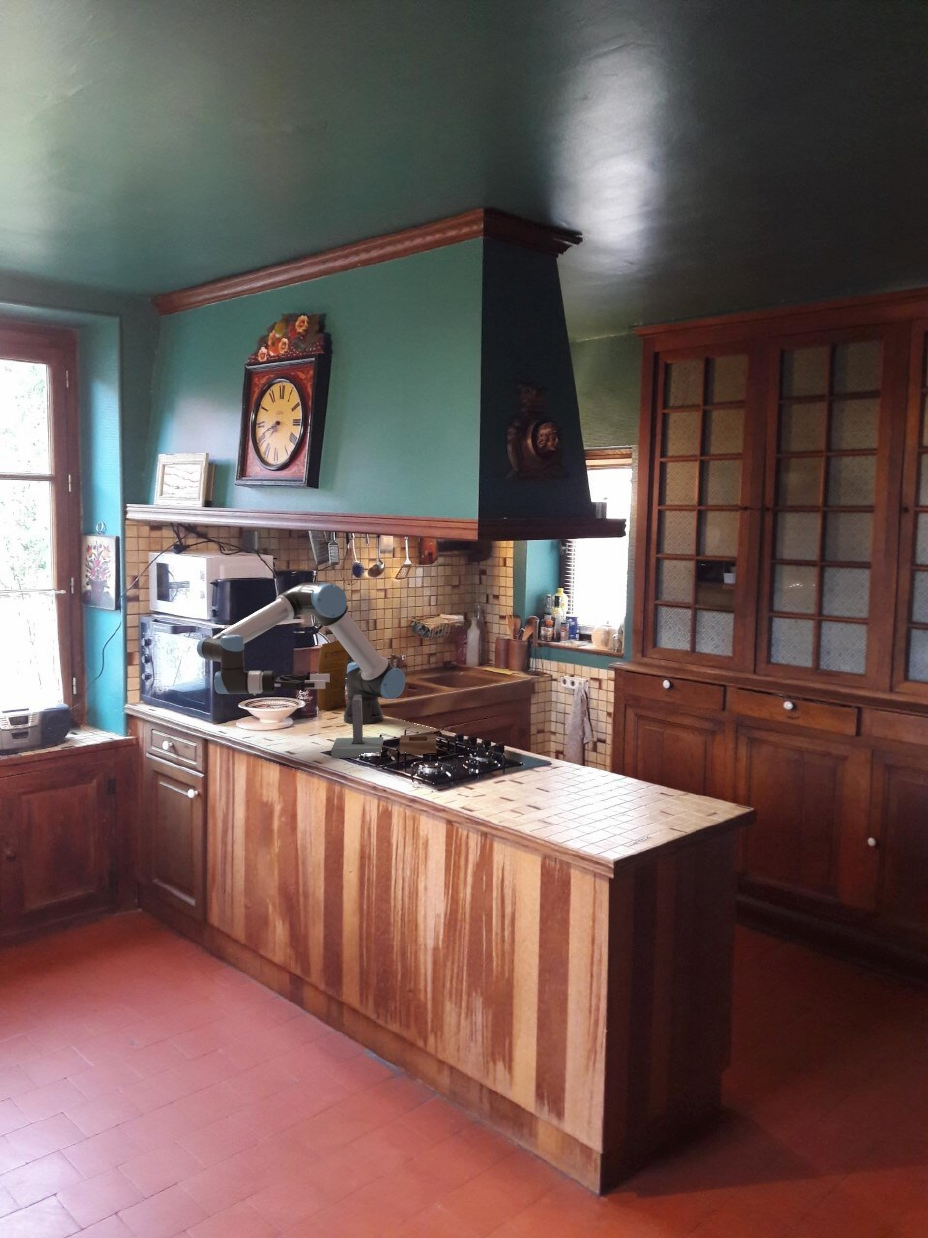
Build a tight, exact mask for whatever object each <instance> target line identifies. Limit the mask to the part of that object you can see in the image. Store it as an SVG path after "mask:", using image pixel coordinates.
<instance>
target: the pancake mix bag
mask: <svg viewBox="0 0 928 1238" xmlns="http://www.w3.org/2000/svg"><path fill="white" fill-rule="evenodd" d="M317 661H318V662H317V663H318V664H317V674H330V682H325V689H317V709H318V708H319V710H327V711H331V710H330V709H332V710H336V709H340V708H346V706H347V700H346V688H347V687H346V685H347V681H346V680H347V666H348V664H349V653H348V652H347V651H346V649H345V648H344V647H343V646H342V644H341V643H340V642H339V640H338V639H337V640H335V641H334V640H333V641H331V642H327V643H323V644H321V646H320V648H319V654H318V660H317Z"/></svg>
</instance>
